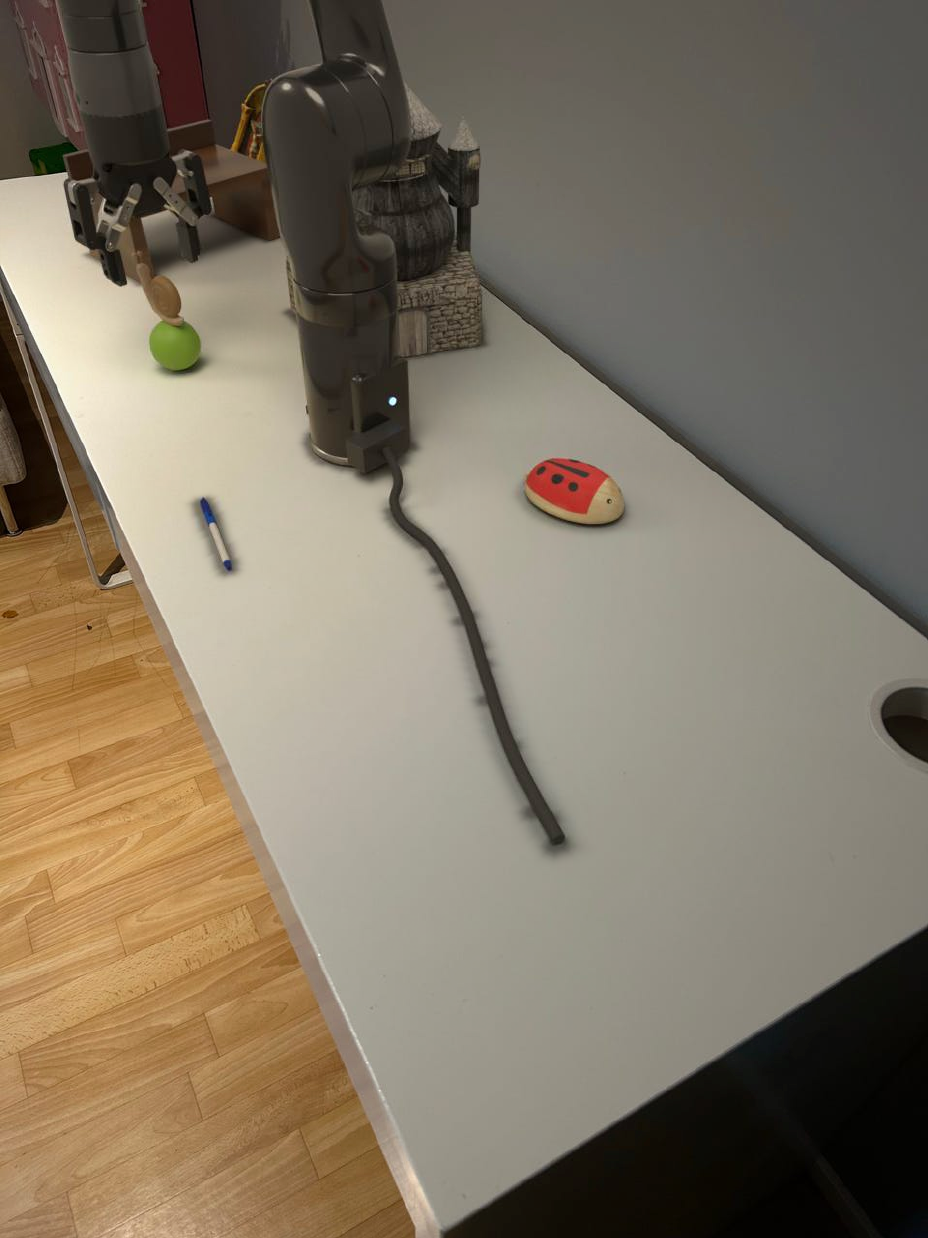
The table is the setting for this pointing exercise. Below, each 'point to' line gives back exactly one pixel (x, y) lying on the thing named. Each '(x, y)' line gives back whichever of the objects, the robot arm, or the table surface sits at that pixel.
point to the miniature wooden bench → (229, 181)
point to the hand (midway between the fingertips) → (156, 271)
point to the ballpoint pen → (215, 533)
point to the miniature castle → (429, 236)
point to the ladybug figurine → (574, 491)
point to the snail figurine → (168, 322)
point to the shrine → (251, 125)
